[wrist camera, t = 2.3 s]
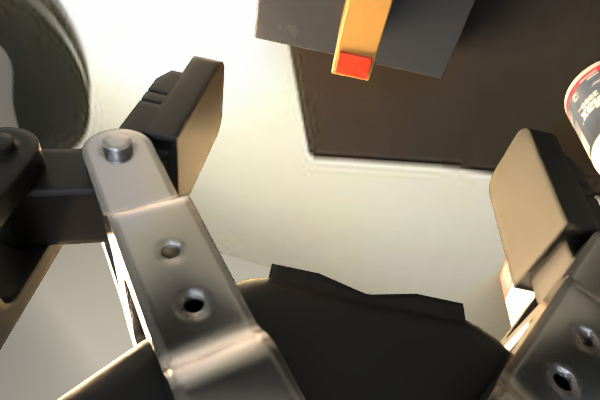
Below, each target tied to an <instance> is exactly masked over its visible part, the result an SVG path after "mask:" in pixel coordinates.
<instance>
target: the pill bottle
mask: <svg viewBox="0 0 600 400" xmlns="http://www.w3.org/2000/svg"><path fill="white" fill-rule="evenodd" d="M565 110H566V113H567V115H568V117H569V120H570V121H571V123H572V125H573V127H574V129H575V131H576V132H577V134H578V136H579V138H580V140H581V142H582V144H583V146H584V148H585V150H586V152H587V154H588V156H589V158H590V159H591V161H592V164H593V165H594V167H595V169H596V170H597V171H598V173H599V174H600V61H598V62H596V63H594V64H592V65H591V66H589V67H588V68H586V69H585V70H584V71H582V72H581V73H580V74H579V75H578V76H577V77H576V78H575V79H574V81H573V82H572V83H571V85H570V87H569V88H568V91H567V93H566V96H565Z"/></svg>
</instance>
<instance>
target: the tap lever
mask: <svg viewBox="0 0 600 400" xmlns="http://www.w3.org/2000/svg"><path fill="white" fill-rule="evenodd" d="M392 1H393V0H346V1H345V6H344V10H343V14H342V19H341V23H340V28H339V33H338V38H337V44H336V49H335V55H334V61H333V66H332V73H335V74H340V75H344V76H349V77H353V78H358V79H363V80H369V78H370V75H371V71H372V68H373V65H374V61H375V58H376V55H377V51H378V48H379V45H380V41H381V38H382V35H383V31H384V28H385V25H386V21H387V18H388V15H389V11H390V8H391V5H392Z"/></svg>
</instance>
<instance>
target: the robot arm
mask: <svg viewBox="0 0 600 400" xmlns="http://www.w3.org/2000/svg"><path fill="white" fill-rule="evenodd" d="M223 82H224V64H223V62H220V61H215V60H211V59H206V58H201V57H197V56H194V57H193V58H192V60H191V61H190V63H189V64H188V66H187V67H186V69H185V70H184V72H183V73H181V72H176V71H170V72H168V73H166V74H164V75H162V76H161V77H159V78H157V79H156V80H155V81H154V83H153V84H152V85H151V87H150V88H149V89H148V92H146V93H145V95H144V96H143V97H142V100H141V101H139V103H138V104H137V105H136V107H135V108H134V109H133V110H132V112H131V113H130V114H129V116H128V117H127V118H126V120H125V121H124V122H123V124H122V125H121V126H120V128H119V129H110V130H106V131H102V132H99V133H97V134H95V135H93V136H91V137H90V138H89V139H88V140H87V141H86V142H85V143H84V145H83V147H82V148H81V149H41V147H40V144H39V141H38V139H37V137H36V136H35V135H34V134H33V133H31V132H29V131H27V130H24V129H20V128H13V127H2V128H0V349H1V348H2V346H3V344H4V343H5V341H6V339H7V338H8V336H9V334H10V332H11V331H12V329H13V327H14V326H15V324H16V322H17V321H18V319H19V317H20V316H21V314H22V312H23V311H24V309H25V307H26V306H27V304H28V302H29V301H30V299H31V297H32V296H33V294H34V292H35V291H36V289H37V287H38V286H39V284H40V282H41V281H42V279H43V277H44V276H45V274H46V272H47V271H48V269H49V267H50V266H51V264H52V262H53V261H54V259H55V257H56V256H57V254H58V252H59V250H60V249H61V247H62V246H63V244H80V243H97V242H102V244H103V247H104V250H105V253H106V256H107V259H108V262H109V266H110V269H111V272H112V275H113V278H114V281H115V284H116V287H117V289H118V293H119V296H120V299H121V302H122V305H123V308H124V312H125V316H126V320H127V324H128V327H129V331H130V334H131V338H132V341H133V343H134V348H132V349H131V350H129V351H128V352H126V353H125V354H123V355H122V356H120V357H119V358H117V359H116V360H115V361H113V362H112V363H110V364H109V365H107V366H106V367H104V368H103V369H102V370H100V371H99V372H97V373H96V374H94V375H93V376H91V377H90V378H88V379H87V380H85V381H84V382H83V383H82V384H80V385H78V386H77V387H75V388H74V389H72V390H71V391H69V392H68V393H66V394H65V395H64V396H62V397H61V398H59V399H58V400H600V205H599V203H598V201H597V199H595V198H594V196H595V195H594V193H593V191H592V189H591V188H590V187H588V185H589V184H588V182H587V180H586V178H585V176H584V174H583V172H582V170H581V169H580V168H579V167H578V166H577V165H576V164H575V163H574V162H573V161H572V160H571V159H570V158H569V157H568V156H565V154H564V152H563V150H562V148H561V146H560V144H559V142H558V140H557V138H556V136H555V135H554V134H551V133H547V132H542V131H537V130H533V129H528V128H523V129H521V130H520V131H519V132H518V133H517V134H516V136H515V138H514V139H513V141H512V143H511V144H510V146H509V148H508V149H507V151H506V152H505V154H504V156H503V157H502V159H501V161H500V162H499V164H498V166H497V167H496V169H495V171H494V173H493V175H492V177H491V181H490V186H489V194H490V198H491V202H492V206H493V209H494V213H495V217H496V221H497V225H498V229H499V233H500V237H501V240H502V244H503V248H504V252H505V256H506V260H507V264H508V267H509V271H510V275H511V279H512V283H513V287H514V288H518V289H523V290H527V291H532V292H534V294H535V298H534V299H533V300H532V301H531V302H530V303H529V304H528V305H527V307H526V308H525V309H524V311H523V312H522V314H521V315H520V316H519V318H518V319H517V320H516V322H515V323H514V324H513V326H512V327H511V329H510V330H509V331H508V333H507V334H506V335H505V337H504V338H503V339H502V341H501V342H499V341H498V340H496V339H495V338H494V337H493V336H492V335H490V334H489V333H487V332H486V331H484V330H483V329H481V328H480V327H478V326H476V325H474V324H472V323H471V322H469V321H466V320H465V314H464V308H463V304H462V303H457V302H453V301H448V300H443V299H438V298H433V297H429V296H424V295H419V294H383V295H369V294H365V293H362V292H360V291H358V290H355V289H353V288H351V287H349V286H346V285H344V284H342V283H339V282H337V281H335V280H333V279H330V278H328V277H326V276H323V275H321V274H319V273H314V272H309V271H304V270H300V269H295V268H290V267H285V266H280V265H276V264H272V266H271V270H270V274H269V278H256V279H249V280H244V281H240V282H236V283H235V281H234V279H233V277H232V275H231V273H230V271H229V270H228V268H227V266H226V264H225V262H224V260H223V258H222V256H221V254H220V253H219V251H218V249H217V247H216V245H215V243H214V241H213V239H212V237H211V235H210V234H209V232H208V230H207V228H206V226H205V224H204V222H203V220H202V218H201V217H200V215H199V213H198V211H197V209H196V207H195V205H194V203H193V202H192V200H191V198H190V197H189V195H190V192H191V190H192V188H193V186H194V184H195V182H196V180H197V177H198V175H199V173H200V171H201V169H202V167H203V165H204V162H205V160H206V158H207V156H208V154H209V152H210V149H211V147H212V145H213V143H214V141H215V139H216V137H217V134H218V131H219V128H220V124H221V118H222V103H223Z"/></svg>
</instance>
